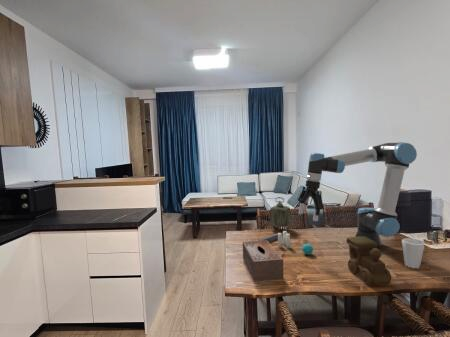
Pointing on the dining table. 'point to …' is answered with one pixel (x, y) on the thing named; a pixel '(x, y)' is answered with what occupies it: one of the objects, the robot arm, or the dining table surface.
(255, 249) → the tissue box cover
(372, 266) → the wooden toy train
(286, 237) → the front pin
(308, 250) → the ball
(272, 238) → the back wall
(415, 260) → the foam cup
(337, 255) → the dining table surface
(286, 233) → the pin
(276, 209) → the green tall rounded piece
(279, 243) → the pin
